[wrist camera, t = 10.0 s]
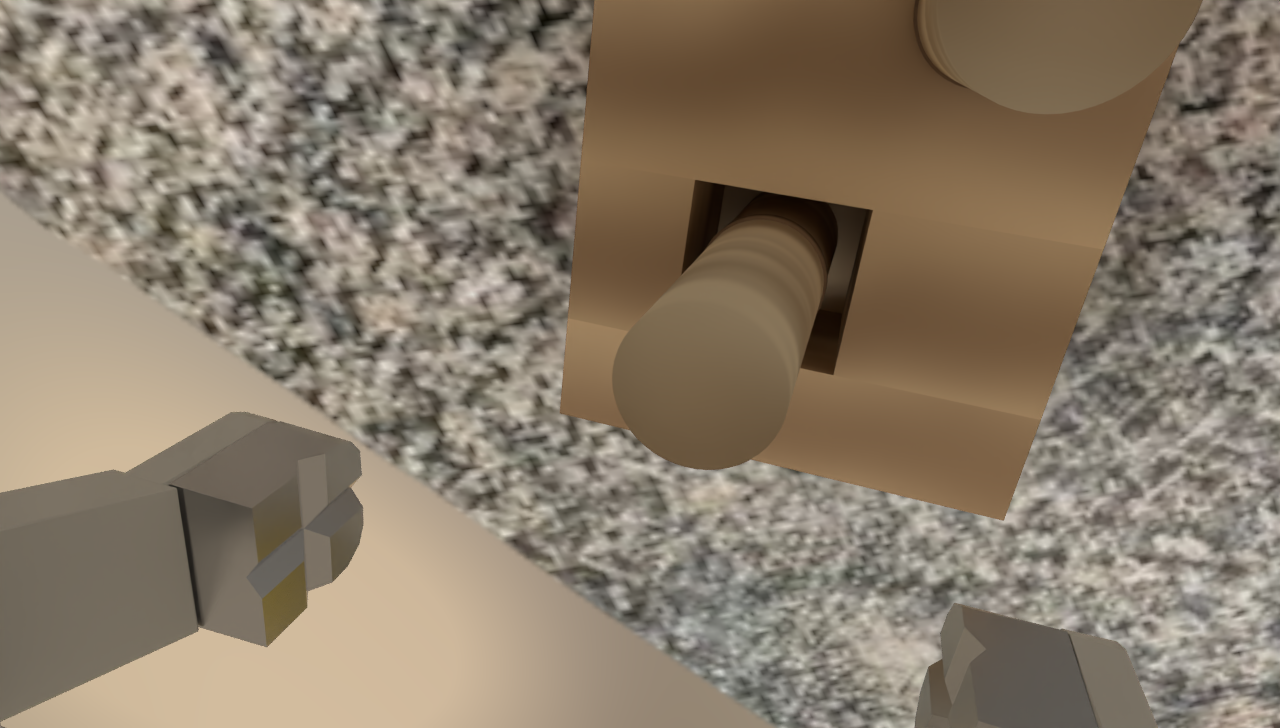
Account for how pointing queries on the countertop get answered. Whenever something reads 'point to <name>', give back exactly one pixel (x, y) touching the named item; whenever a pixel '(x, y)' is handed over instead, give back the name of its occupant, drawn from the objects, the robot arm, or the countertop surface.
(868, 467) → the wooden peg hole block
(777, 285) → the peg
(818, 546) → the countertop surface
